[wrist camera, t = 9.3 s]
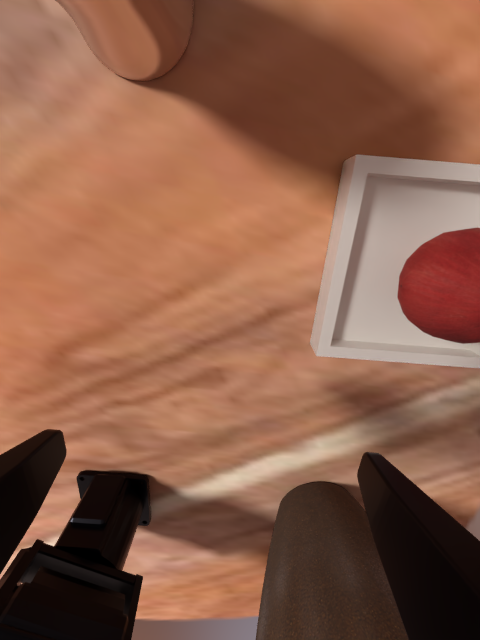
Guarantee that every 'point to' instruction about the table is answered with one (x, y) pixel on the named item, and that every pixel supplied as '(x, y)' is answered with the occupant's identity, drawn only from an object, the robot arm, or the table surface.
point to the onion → (444, 286)
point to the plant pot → (325, 572)
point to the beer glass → (134, 33)
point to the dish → (389, 257)
